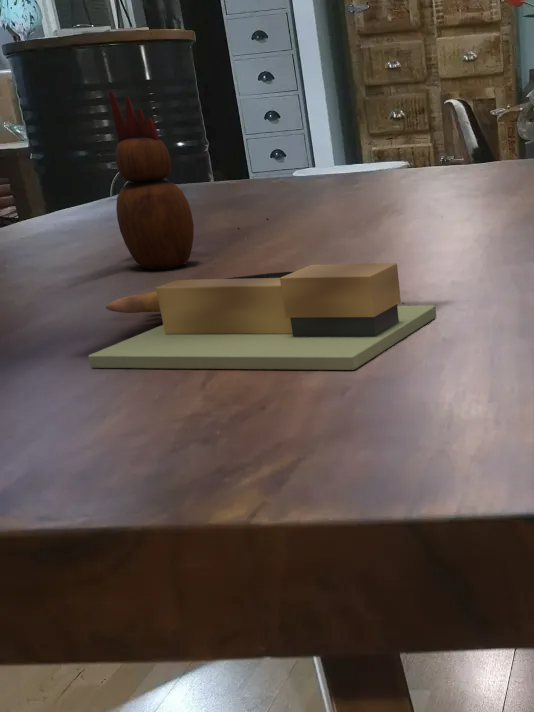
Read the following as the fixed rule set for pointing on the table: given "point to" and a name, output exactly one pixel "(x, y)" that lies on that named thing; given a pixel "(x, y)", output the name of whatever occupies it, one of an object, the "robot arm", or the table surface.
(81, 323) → the table surface
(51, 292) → the table surface
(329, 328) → the brush
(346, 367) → the felt mat
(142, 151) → the wooden figurine
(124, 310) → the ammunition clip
